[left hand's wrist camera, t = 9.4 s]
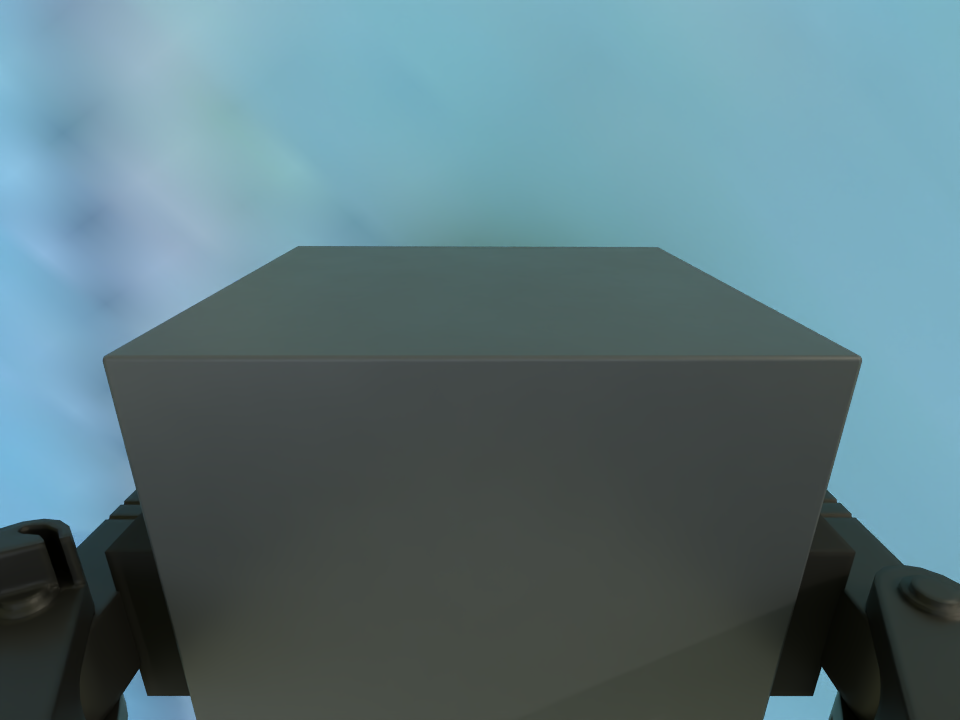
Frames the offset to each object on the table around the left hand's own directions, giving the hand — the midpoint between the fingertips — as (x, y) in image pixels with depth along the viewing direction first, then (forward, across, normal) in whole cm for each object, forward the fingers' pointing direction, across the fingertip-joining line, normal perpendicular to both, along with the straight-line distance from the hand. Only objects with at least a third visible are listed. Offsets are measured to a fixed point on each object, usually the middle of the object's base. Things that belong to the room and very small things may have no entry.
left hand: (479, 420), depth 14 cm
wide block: (+1, 0, -33) cm, 33 cm away
